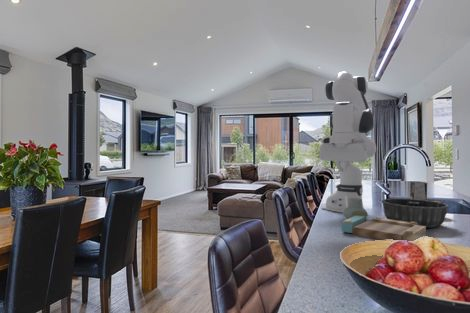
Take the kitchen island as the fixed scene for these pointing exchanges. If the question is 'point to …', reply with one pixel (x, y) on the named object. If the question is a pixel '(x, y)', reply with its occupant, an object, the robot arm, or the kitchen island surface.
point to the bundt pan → (416, 211)
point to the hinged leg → (352, 223)
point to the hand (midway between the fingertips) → (342, 171)
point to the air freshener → (354, 208)
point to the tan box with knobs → (390, 229)
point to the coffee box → (418, 190)
